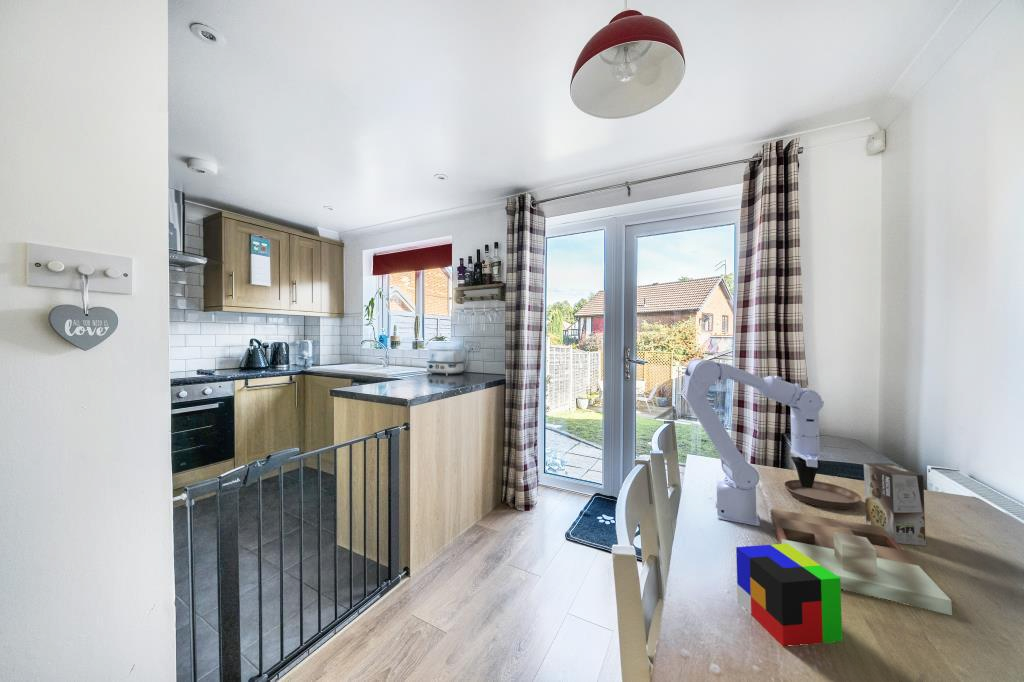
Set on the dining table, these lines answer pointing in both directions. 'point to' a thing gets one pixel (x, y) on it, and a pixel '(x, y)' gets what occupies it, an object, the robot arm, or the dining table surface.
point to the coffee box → (895, 502)
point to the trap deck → (893, 577)
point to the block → (855, 553)
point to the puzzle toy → (789, 594)
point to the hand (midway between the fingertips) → (806, 486)
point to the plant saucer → (824, 494)
